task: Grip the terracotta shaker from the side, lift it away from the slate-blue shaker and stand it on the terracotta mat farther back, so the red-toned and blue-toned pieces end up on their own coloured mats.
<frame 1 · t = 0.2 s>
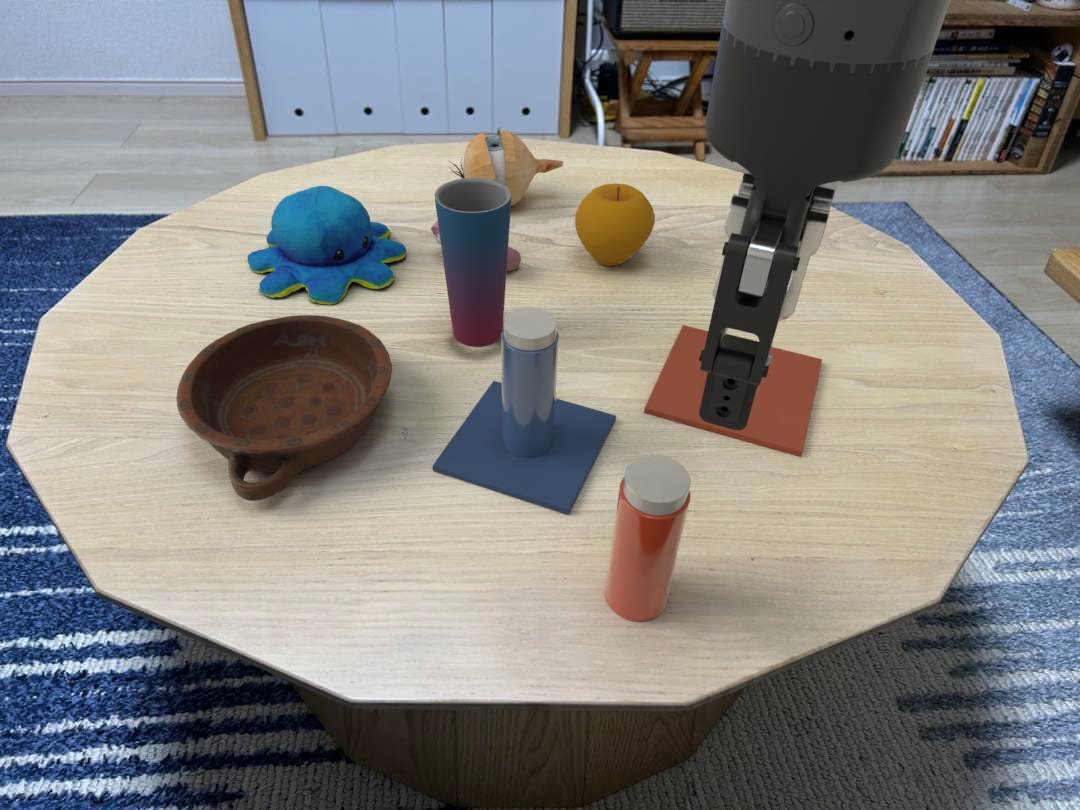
hand: (740, 368, 39), 22 cm above the table, tool pointing down, fingers open, 8 cm apart
cup: (477, 333, 78), on the table
sculpture: (505, 203, 99), on the table
apple: (610, 261, 89), on the table
blue mat: (527, 444, 66), on the table
dish: (297, 418, 68), on the table
blue shaker: (527, 439, 65), point 1 cm above the table, touching blue mat
plush toy: (330, 264, 87), on the table
terracotta shaker: (635, 594, 55), on the table
terracotta mat: (735, 387, 72), on the table
video game controller: (476, 264, 88), on the table
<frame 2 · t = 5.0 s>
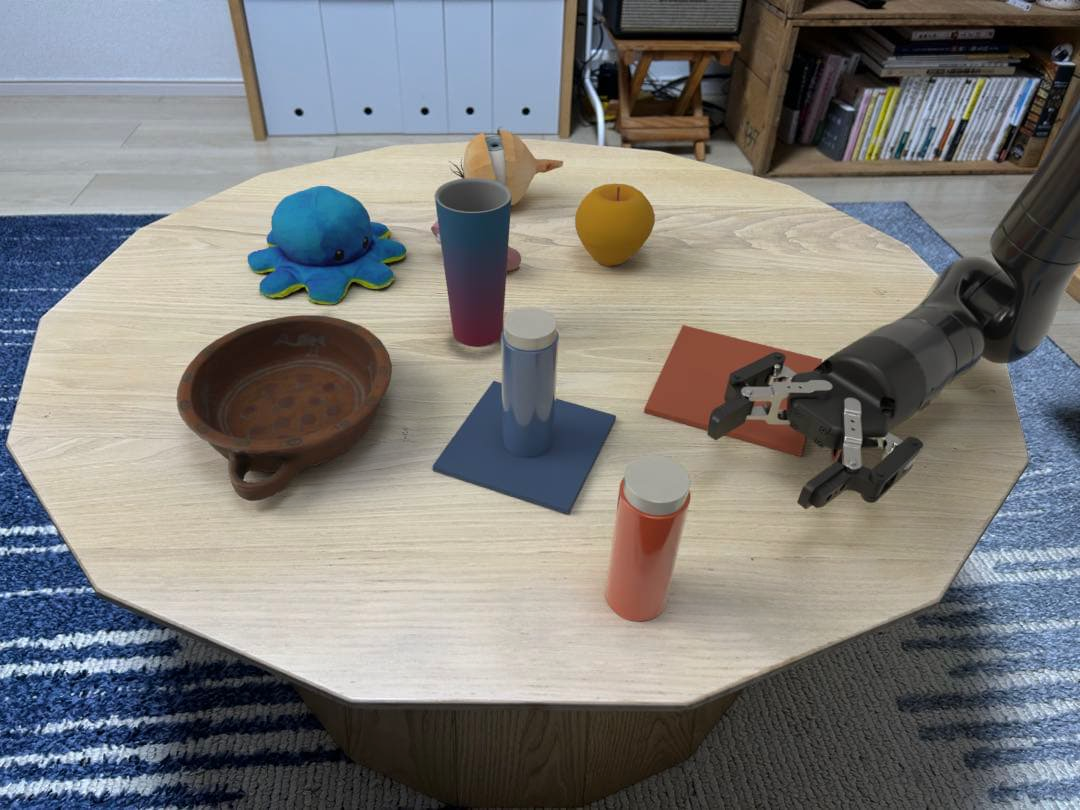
hand: (756, 462, 56), 7 cm above the table, tool horizontal, fingers open, 8 cm apart
nothing on the table moved.
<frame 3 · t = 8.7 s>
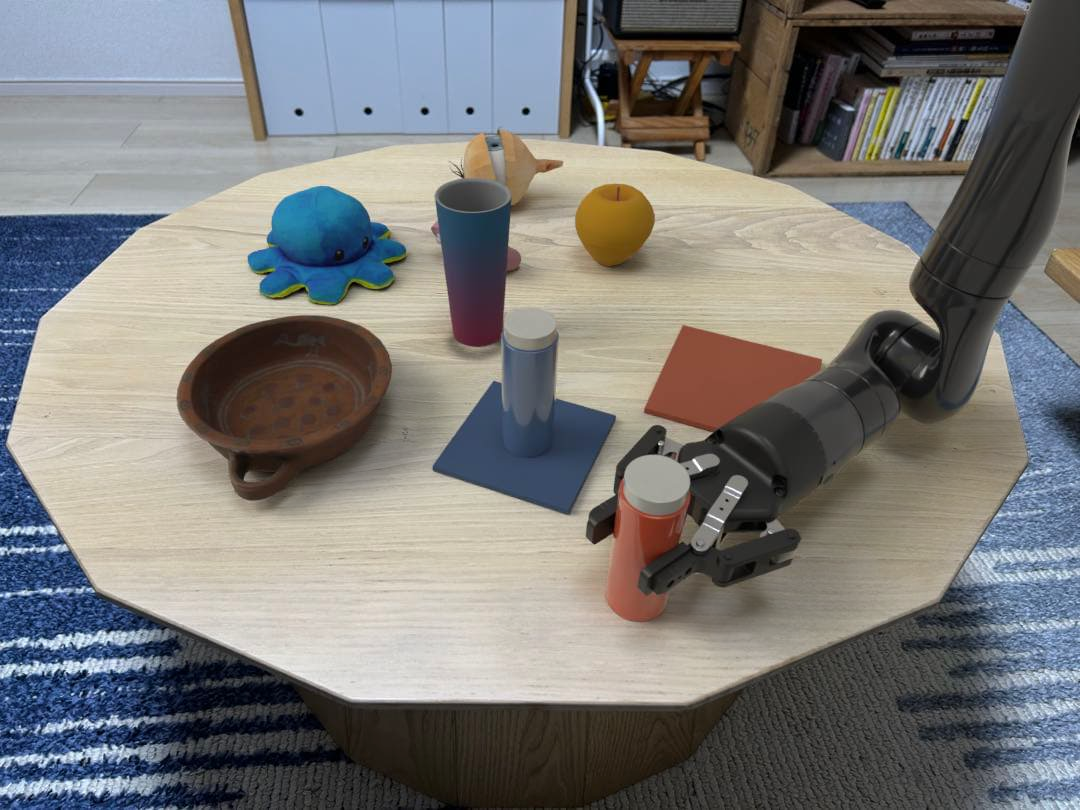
hand: (616, 557, 49), 7 cm above the table, tool horizontal, fingers closed on terracotta shaker, 4 cm apart
terracotta shaker: (636, 595, 55), on the table, touching gripper
everything else where it was.
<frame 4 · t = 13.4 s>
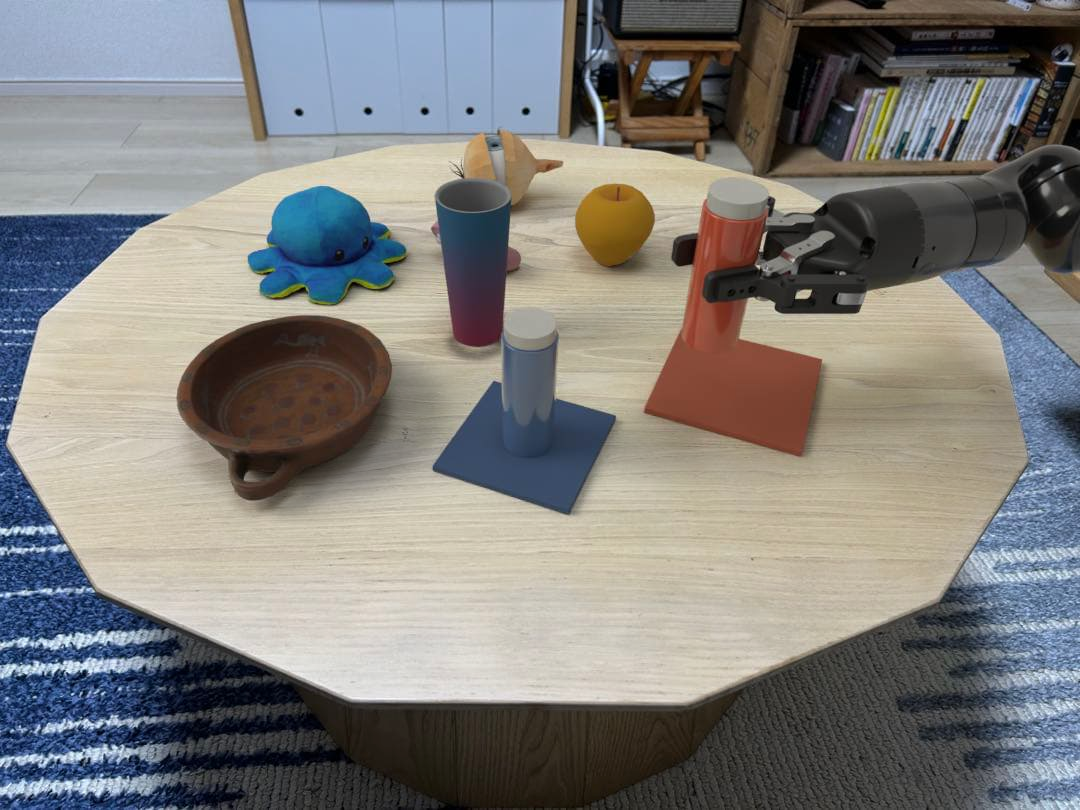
hand: (690, 269, 55), 18 cm above the table, tool horizontal, fingers closed on terracotta shaker, 4 cm apart
terracotta shaker: (709, 336, 60), point 11 cm above the table, touching gripper
everything else where it was.
when the fingers open (7 cm above the table, at t = 18.3 s): terracotta shaker stays where it is, resting on terracotta mat.
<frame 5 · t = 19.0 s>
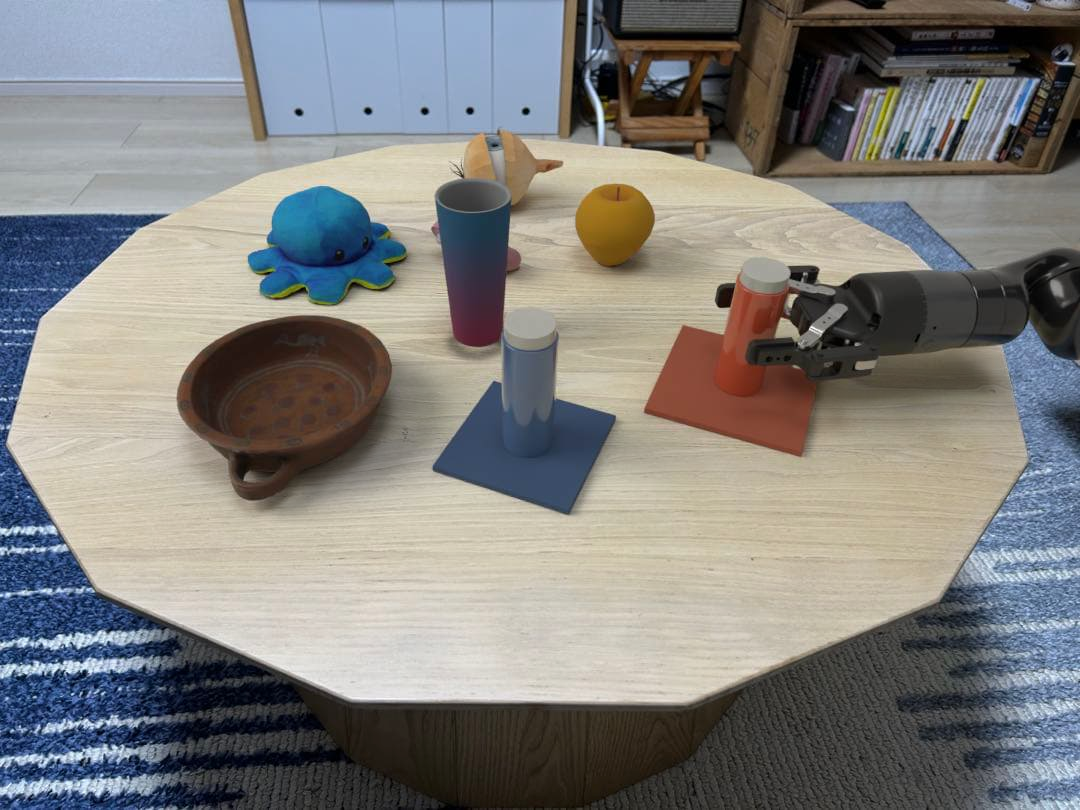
hand: (731, 323, 67), 8 cm above the table, tool horizontal, fingers open, 8 cm apart
terracotta shaker: (737, 381, 72), point 1 cm above the table, touching terracotta mat
everything else where it was.
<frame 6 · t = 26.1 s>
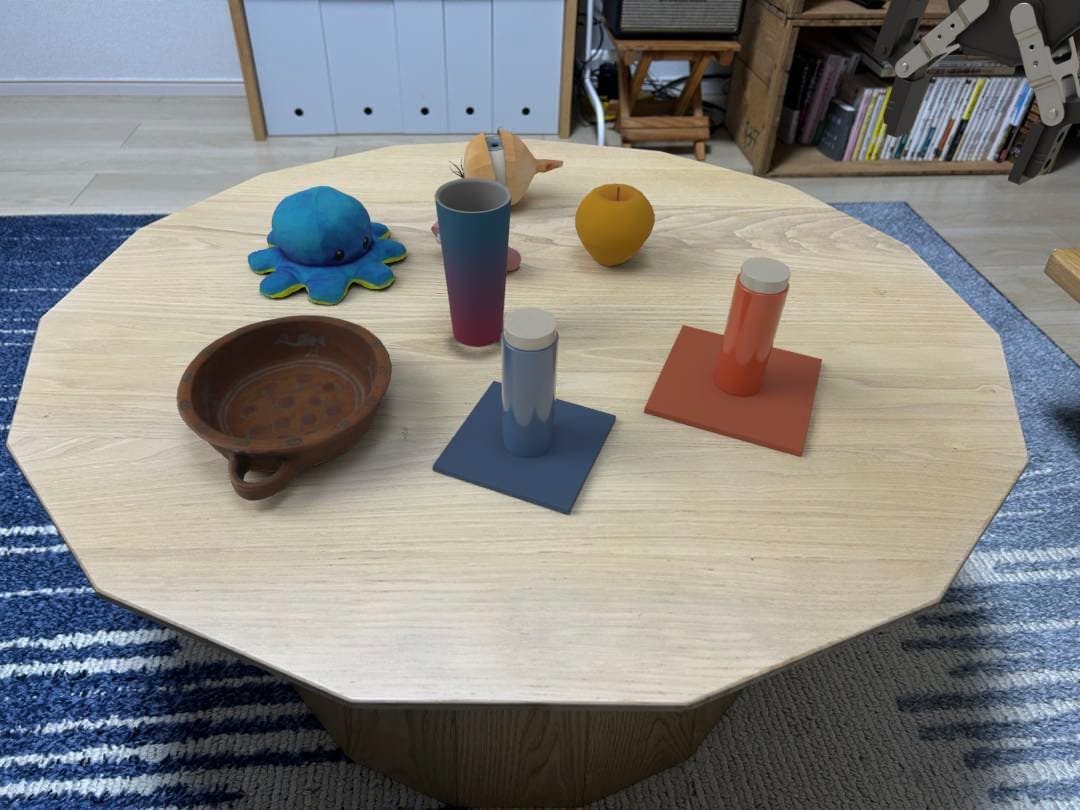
hand: (955, 156, 50), 26 cm above the table, tool pointing down, fingers open, 8 cm apart
nothing on the table moved.
at the end: terracotta shaker inside the target area on the terracotta mat (0.1 cm from its centre), point 0.6 cm above the terracotta mat's base; terracotta shaker tilted 0°; blue shaker inside the target area on the blue mat (0.0 cm from its centre), point 0.6 cm above the blue mat's base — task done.
